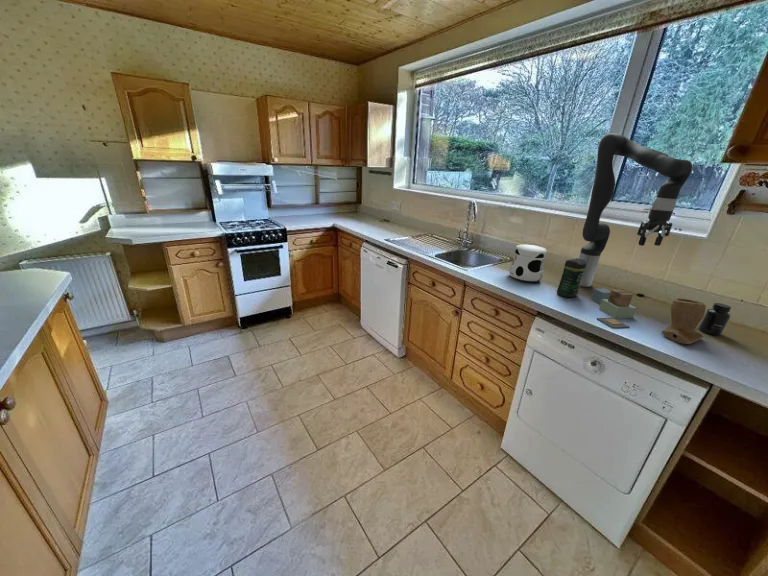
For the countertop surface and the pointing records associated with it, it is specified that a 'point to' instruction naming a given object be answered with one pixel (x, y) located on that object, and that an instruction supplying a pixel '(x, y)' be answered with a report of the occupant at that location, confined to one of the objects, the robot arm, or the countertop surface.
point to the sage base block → (617, 309)
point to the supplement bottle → (715, 319)
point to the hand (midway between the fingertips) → (648, 245)
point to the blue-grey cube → (600, 294)
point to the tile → (613, 322)
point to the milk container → (528, 263)
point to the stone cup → (685, 320)
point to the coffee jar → (571, 277)
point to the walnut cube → (620, 297)
